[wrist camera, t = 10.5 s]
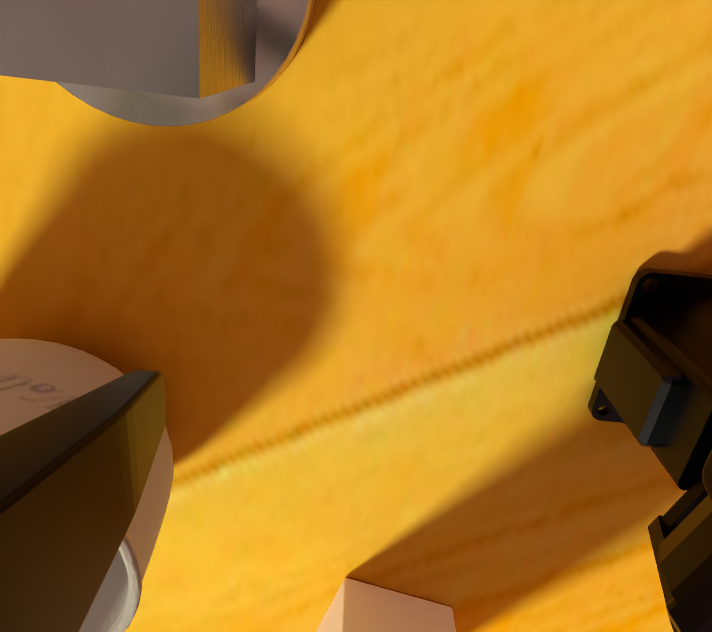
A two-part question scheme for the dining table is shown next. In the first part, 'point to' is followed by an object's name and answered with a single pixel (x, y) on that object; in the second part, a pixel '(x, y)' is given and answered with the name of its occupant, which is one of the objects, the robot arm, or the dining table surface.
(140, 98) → the pan with red handle
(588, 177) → the dining table surface
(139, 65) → the matte grey cube
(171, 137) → the dining table surface
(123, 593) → the teacup
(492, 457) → the dining table surface
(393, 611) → the milk
